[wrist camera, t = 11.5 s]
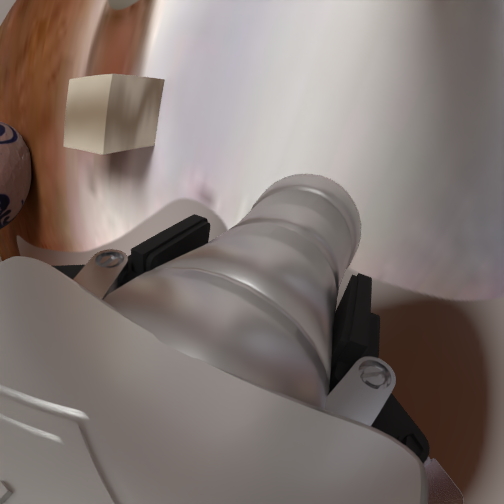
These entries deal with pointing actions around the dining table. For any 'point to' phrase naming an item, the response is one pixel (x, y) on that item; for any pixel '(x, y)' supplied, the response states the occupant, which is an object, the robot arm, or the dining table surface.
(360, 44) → the dining table surface
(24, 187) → the ceramic pitcher
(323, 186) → the silver metal bottle
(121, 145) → the beige cube
